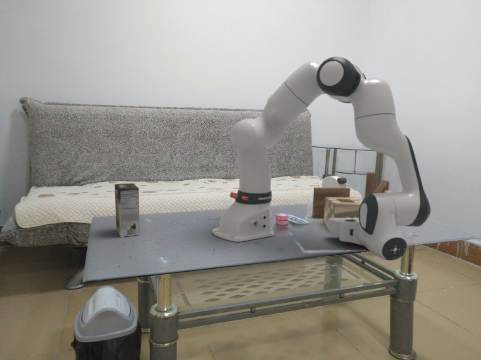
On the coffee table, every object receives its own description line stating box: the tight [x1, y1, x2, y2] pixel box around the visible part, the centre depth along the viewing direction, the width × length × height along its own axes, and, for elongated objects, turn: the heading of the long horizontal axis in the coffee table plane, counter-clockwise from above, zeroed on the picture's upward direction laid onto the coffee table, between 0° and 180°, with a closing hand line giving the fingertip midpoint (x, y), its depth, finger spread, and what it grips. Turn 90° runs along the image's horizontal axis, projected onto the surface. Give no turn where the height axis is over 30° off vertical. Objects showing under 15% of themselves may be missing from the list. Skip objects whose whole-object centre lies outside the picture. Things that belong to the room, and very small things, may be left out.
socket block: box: [323, 196, 363, 227], centre depth 131 cm, size 11×11×10 cm
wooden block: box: [364, 171, 390, 198], centre depth 157 cm, size 4×11×18 cm, turn 114°
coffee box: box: [114, 183, 140, 238], centre depth 121 cm, size 9×6×16 cm
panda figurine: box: [321, 173, 348, 188], centre depth 163 cm, size 12×11×15 cm
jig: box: [311, 187, 351, 219], centre depth 134 cm, size 23×16×13 cm
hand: (350, 218), depth 125 cm, fingers closed, pressing on socket block
